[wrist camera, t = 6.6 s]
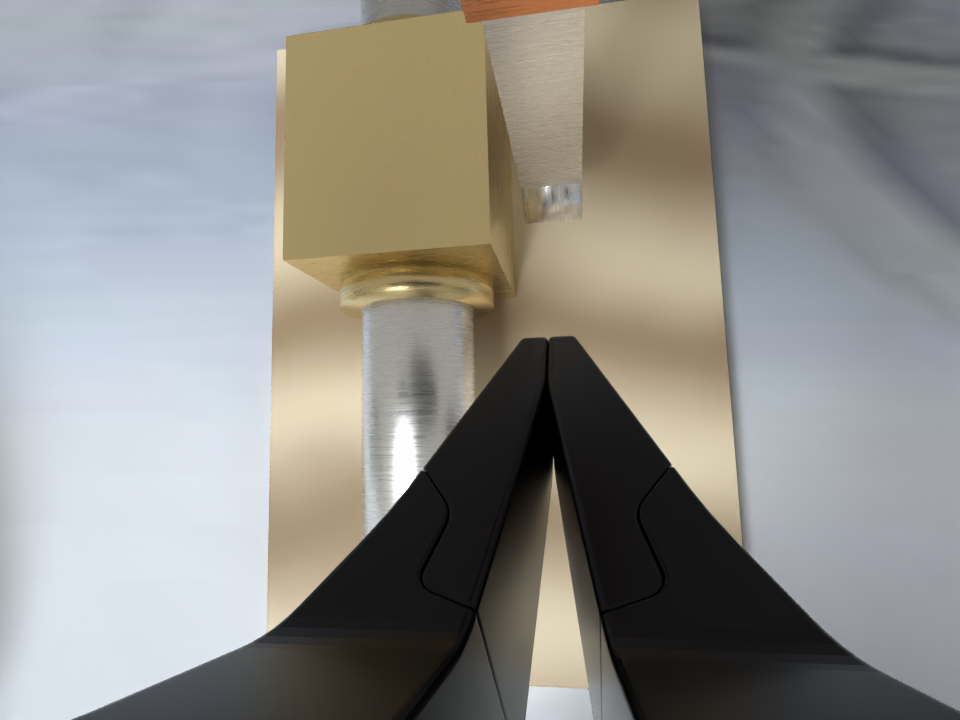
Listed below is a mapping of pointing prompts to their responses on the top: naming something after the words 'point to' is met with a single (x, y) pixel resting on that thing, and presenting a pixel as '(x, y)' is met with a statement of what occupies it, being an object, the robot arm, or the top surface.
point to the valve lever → (540, 96)
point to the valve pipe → (401, 214)
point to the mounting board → (542, 318)
